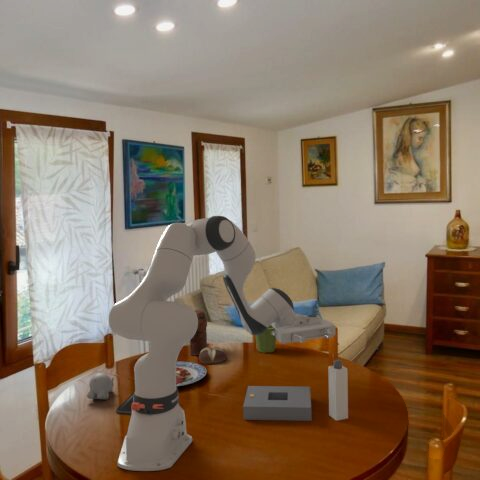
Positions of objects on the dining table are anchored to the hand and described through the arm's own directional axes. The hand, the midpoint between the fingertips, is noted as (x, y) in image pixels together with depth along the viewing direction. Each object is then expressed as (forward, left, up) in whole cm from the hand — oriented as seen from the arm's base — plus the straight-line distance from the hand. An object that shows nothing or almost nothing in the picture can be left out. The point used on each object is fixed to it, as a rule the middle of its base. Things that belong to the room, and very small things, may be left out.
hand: (317, 338), depth 159 cm
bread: (+40, +41, -21) cm, 61 cm away
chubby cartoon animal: (+1, +72, -21) cm, 74 cm away
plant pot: (+52, +20, -21) cm, 59 cm away
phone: (-4, +59, -21) cm, 62 cm away
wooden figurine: (+50, +49, -21) cm, 73 cm away
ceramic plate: (+19, +53, -21) cm, 60 cm away
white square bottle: (-11, -5, -21) cm, 24 cm away
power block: (-6, +13, -20) cm, 25 cm away
